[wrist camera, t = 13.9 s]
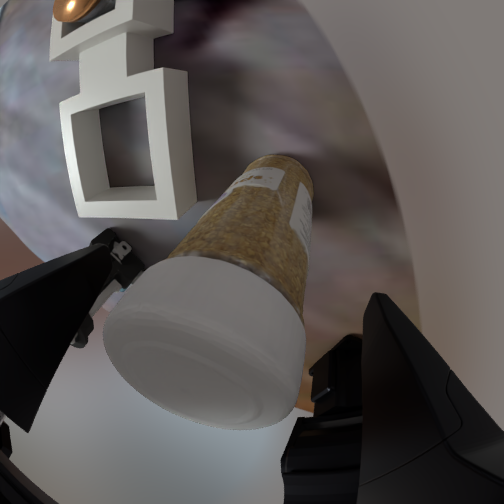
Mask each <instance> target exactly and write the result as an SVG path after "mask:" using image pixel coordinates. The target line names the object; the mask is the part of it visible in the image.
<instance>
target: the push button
mask: <svg viewBox="0 0 504 504" xmlns="http://www.w3.org/2000/svg"><path fill="white" fill-rule="evenodd" d="M98 243H100V244H105V245H107V246H108V247H109V250H110V254H111V259H112V263H113V269H112V271H111V273H110V275H109V277H108V279H107V280H106V282H105V284H104V286H103V288H102V290H101V292H100V294H99V296H98V298H97V300H96V301H95V303H94V305H93V307H92V308H91V310H90V311H89V313H88V315H87V316H86V318H85V320H84V321H83V323H82V325H81V326H80V328H79V330H78V332H77V333H76V335H75V337H74V339H73V340H72V342H71V344H70V345H72V346H74V347H76V348H83V347H85V345H86V344H87V343H88V336H89V334H90V333H91V332H92V331H93V329H94V325H93V320H92V317H93V316H94V314H95V313H96V312H97V311H98V310H99V309H100V307H101V306H102V305H103V304H104V303H105V302H106V300H107V299H108V298H109V297H110V296H111V295H112V294H113V293H114V292H115V293H118V292H119V291H121V292H124V291H125V290H126V289H127V288H128V286H129V285H130V284H131V283H132V284H134V283H135V281H136V280H137V279H138V278H139V277H140V276H141V275H142V274H143V271H142V269H143V268H144V264H143V263H142V262H141V261H140V260H139V259H138V258H137V257H136V256H135V255H134V254H132V253H131V252H130V251H131V250H132V249H131V247H130V246H129V245H128V244H127V243H126V242H125V241H122V242H120V241H119V240H118V239H117V238H116V237H115V233H114V232H113V231H112V230H111V229H110V228H107V229H106V230H104V231H103V232H102V233H100V234H99V235H98V236H97V237H95V238H94V239H93V240H92V241H91V243H90V245H89V246H92V245H95V244H98ZM125 246H126V247H127V248H126V247H125ZM103 290H104V291H103ZM102 291H103V292H102Z"/></svg>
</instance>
